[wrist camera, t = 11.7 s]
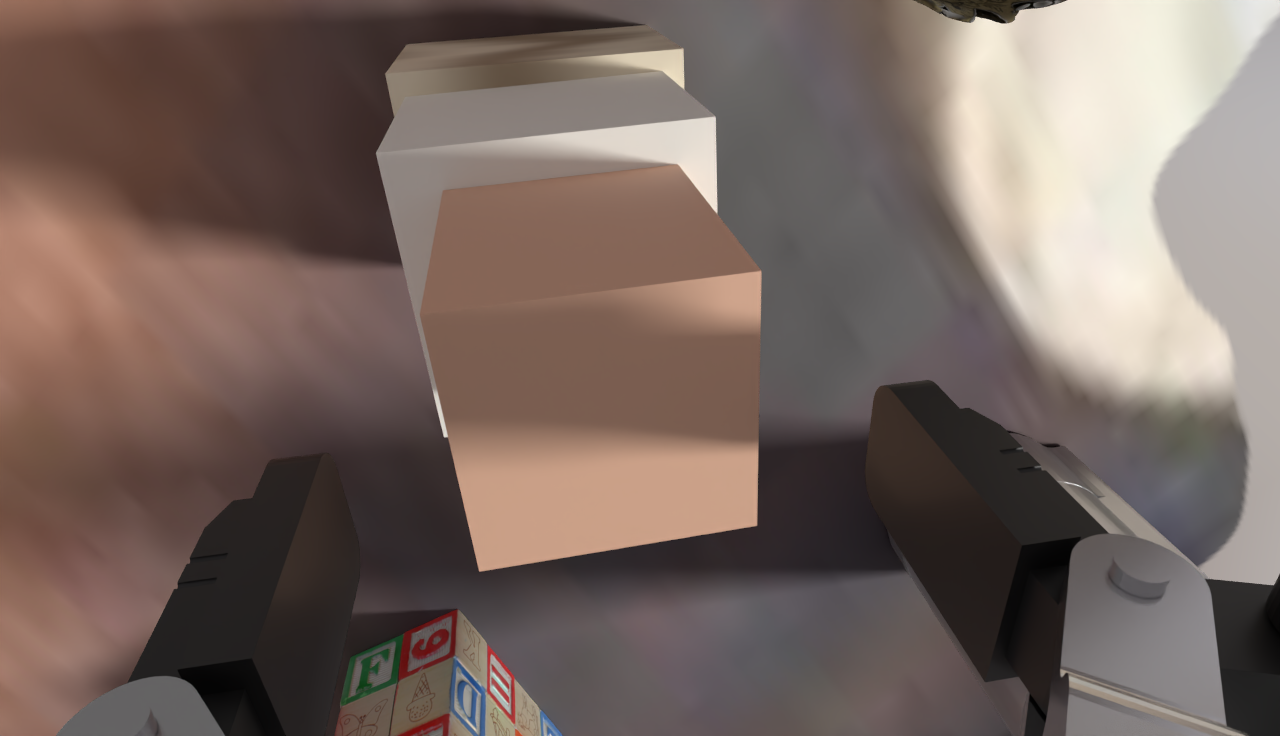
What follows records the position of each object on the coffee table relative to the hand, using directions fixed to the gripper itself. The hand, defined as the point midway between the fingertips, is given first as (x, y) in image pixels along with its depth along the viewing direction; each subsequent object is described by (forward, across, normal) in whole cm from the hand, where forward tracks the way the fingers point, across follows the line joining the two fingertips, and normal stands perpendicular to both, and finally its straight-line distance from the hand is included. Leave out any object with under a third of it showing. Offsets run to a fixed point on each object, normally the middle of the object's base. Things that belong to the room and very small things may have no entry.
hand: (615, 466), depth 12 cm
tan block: (+7, 0, 0) cm, 7 cm away
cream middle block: (+13, 0, 0) cm, 13 cm away
